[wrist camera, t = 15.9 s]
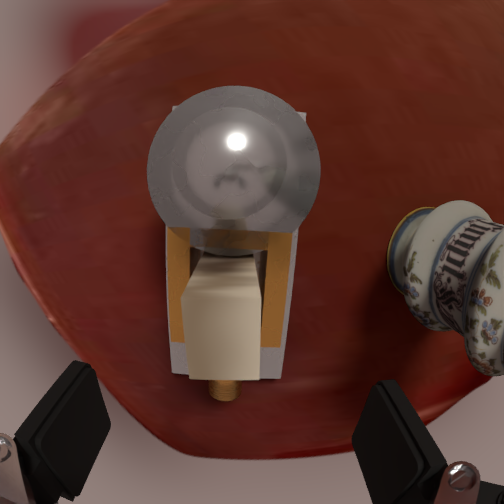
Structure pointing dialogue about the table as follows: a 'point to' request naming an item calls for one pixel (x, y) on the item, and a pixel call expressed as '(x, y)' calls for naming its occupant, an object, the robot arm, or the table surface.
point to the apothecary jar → (454, 276)
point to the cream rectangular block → (223, 318)
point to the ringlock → (234, 203)
